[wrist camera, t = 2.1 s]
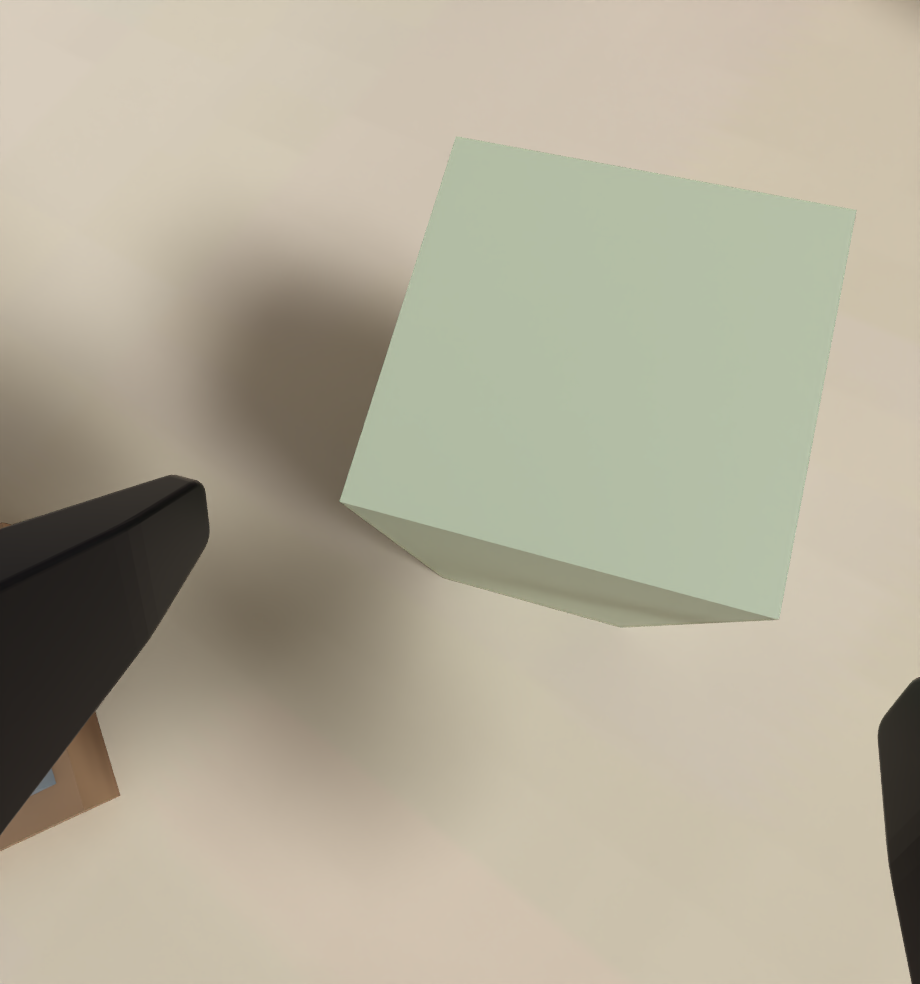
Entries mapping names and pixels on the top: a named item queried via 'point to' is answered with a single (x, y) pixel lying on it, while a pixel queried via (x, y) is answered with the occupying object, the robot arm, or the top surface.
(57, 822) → the walnut base block
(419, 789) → the top surface
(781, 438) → the sage block
